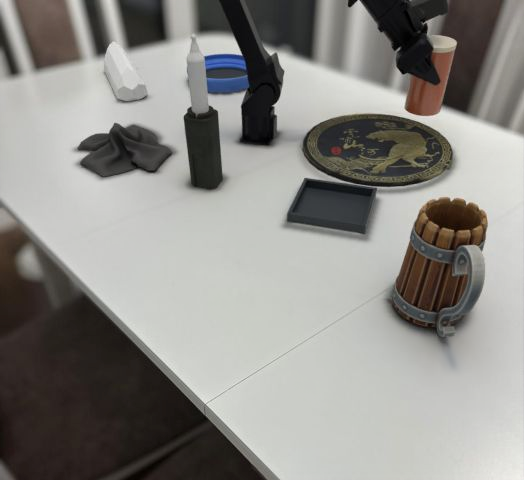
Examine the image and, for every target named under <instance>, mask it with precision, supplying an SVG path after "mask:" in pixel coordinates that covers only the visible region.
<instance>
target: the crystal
mask: <svg viewBox="0 0 524 480" xmlns="http://www.w3.org/2000/svg"><path fill="white" fill-rule="evenodd" d="M103 70H104V71H103V72H104V73H105V75H106V77H107V79H108V82H109V85H110V86H111V89H112V91H113V93H114V95H115V97H116V99H117V100H122V101H125V102H132V101H138V100H139V101H140V100H142V99H143V98H145V97H146V96H147V95H148V94H149V92H148V90H147V85H146V84H145V83H144V81H143V79H142V77H141V76H140V74H139V72H138V70H137V69H136V67H135V64H134V63H133V62H132V59H131V58H130V56H129V55H128V53H127V52H126V51H125V50H124V48H123V47H122V46H121V45H119V44H118V43H117V42H115V41H112V42H110V43H109V45H108V47H107V49H106V51H105V55H104V59H103Z"/></svg>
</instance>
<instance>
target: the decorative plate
mask: <svg viewBox="0 0 524 480" xmlns="http://www.w3.org/2000/svg"><path fill="white" fill-rule="evenodd" d="M302 152H303V156H304V158H305V159H306V160H307V162H308V163H309V164H310V165H311V166H313V167H314V168H315V169H316V170H318V171H319V172H321V173H323V174H325V175H327V176H329V177H331V178H334V179H337V180H339V181H342V182H345V183H346V182H347V183H349V184H353V185H360V186H367V187H374V188H396V187H397V188H398V187H406V186H413V185H418V184H422V183H425V182H428V181H431V180H433V179H435V178H437V177H439V176H440V175H441V176H442V174H443V173H445V171H448V170H449V169H450V167H451V166H452V164H453V163H452V162H453V156H454V152H453V149H452V145H451V143H450V142H449V140H448V139H447V138H446V137H445V136H444V135H443V134H441V132H439V131H438V130H436V129H434V128H433V127H431V126H430V125H427V124H425V123H423V122H420V121H417V120H414V119H411V118H408V117H403V116H398V115H393V114H384V113H368V112H367V113H352V114H345V115H339V116H334V117H332V118H328V119H326V120H323V121H321V122H319V123H318V124H316V125H314V126H313V127H312V128H311V129H310V130H309V131H307V132H306V134H305V136H304V138H303V141H302Z"/></svg>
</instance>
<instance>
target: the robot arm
mask: <svg viewBox="0 0 524 480" xmlns="http://www.w3.org/2000/svg"><path fill="white" fill-rule="evenodd" d="M358 1H359V2H360V3H361V5H362V6H363V7H364V8H365V10H366V12H367V13H368V14H369V16H370V17H371V18H372V19H373V21H374V22H375V24H376V26H377V30H378V31H379V33H380V34H382V33H383V35H384V36H385V38H386V39H387V40H388V41H389V43H390V47H391V49H392V50H393V52H396V53H395V54H396V55H395V66H396V68H397V69H398V71H399V73H400V74H401V75H402V76H404V75H406V74H407V75H413V76H416V77H418V78H420V79H423V80H425V81H427V82H429V83H431V84H433V85H435V86H436V85H438V84H439V83H440V82H441V80H440V78H439V75H438V73H437V71H436V68H435V66H434V64H433V61H432V59H431V55H432V51H433V49H434V46H433V43H432V42H431V40H430V38H429V37H428V35H429V34H428V31H429V26H428V21H430V20H432V19H434V18H436V17H439V16H444V15H446V14H448V13H450V7H449V6H450V5H449V1H448V0H347V7H348V8H349V9H351V8H352V7H353V6H354V5H355V4H356V3H357V2H358ZM218 2H219V5H220V8H221V9H222V11H223V14H224V16H225V18H226V21H227V23H228V25H229V29H230V31H231V32H232V34H233V37H234V39H235V42H236V44H237V46H238V48H239V51H240V53H241V55H242V56H243V58H244V61H245V65H246V71H247V78H248V83H249V87H248V88H246V90H245V93H244V96H243V98H242V102H241V105H240V110H241V111H240V112H241V137H240V138H239V142H240V143H245V144H254V145H260V146H269V145H271V143H272V142H273V140H274V139H275V138H276V136H277V135H278V115H277V114H275V108H276V107H275V105H276V104H277V103H278V101H279V100H280V97H281V95H282V91H283V86H284V75H285V69H284V68H283V66H281V63H280V60H279V55H278V53H277V52H274V53H272V54H271V55H270V53H269V52H268V50H266V49H265V47H264V45H263V42H262V40H261V37H260V35H259V32H258V30H257V27H256V25H255V22H254V20H253V17H252V15H251V13H250V10H249V7H248V5H247V2H246V0H218ZM398 49H399V50H398Z"/></svg>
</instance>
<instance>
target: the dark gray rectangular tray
mask: <svg viewBox="0 0 524 480" xmlns="http://www.w3.org/2000/svg"><path fill="white" fill-rule="evenodd" d="M377 193H378V187H374V186H366V185H359V184H354V183H346V182H338V181H332V180H324V179H317V178H310V177H304V178H303V181H302V182H301V184H300V186H299V188H298V190H297V192H296V195H295V196H294V199H293V200H292V202H291V204H290V207H289V208H288V211H287V213H286V221H287V222H289V223H297V224H301V225H308V226H314V227H320V228H327V229H333V230H340V231H345V232H352V233H357V234H366V231H367V227H368V224H369V222H370V221H369V220H370V217H371V214H372V209H373V207H374V203H375V200H376V197H377Z"/></svg>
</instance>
